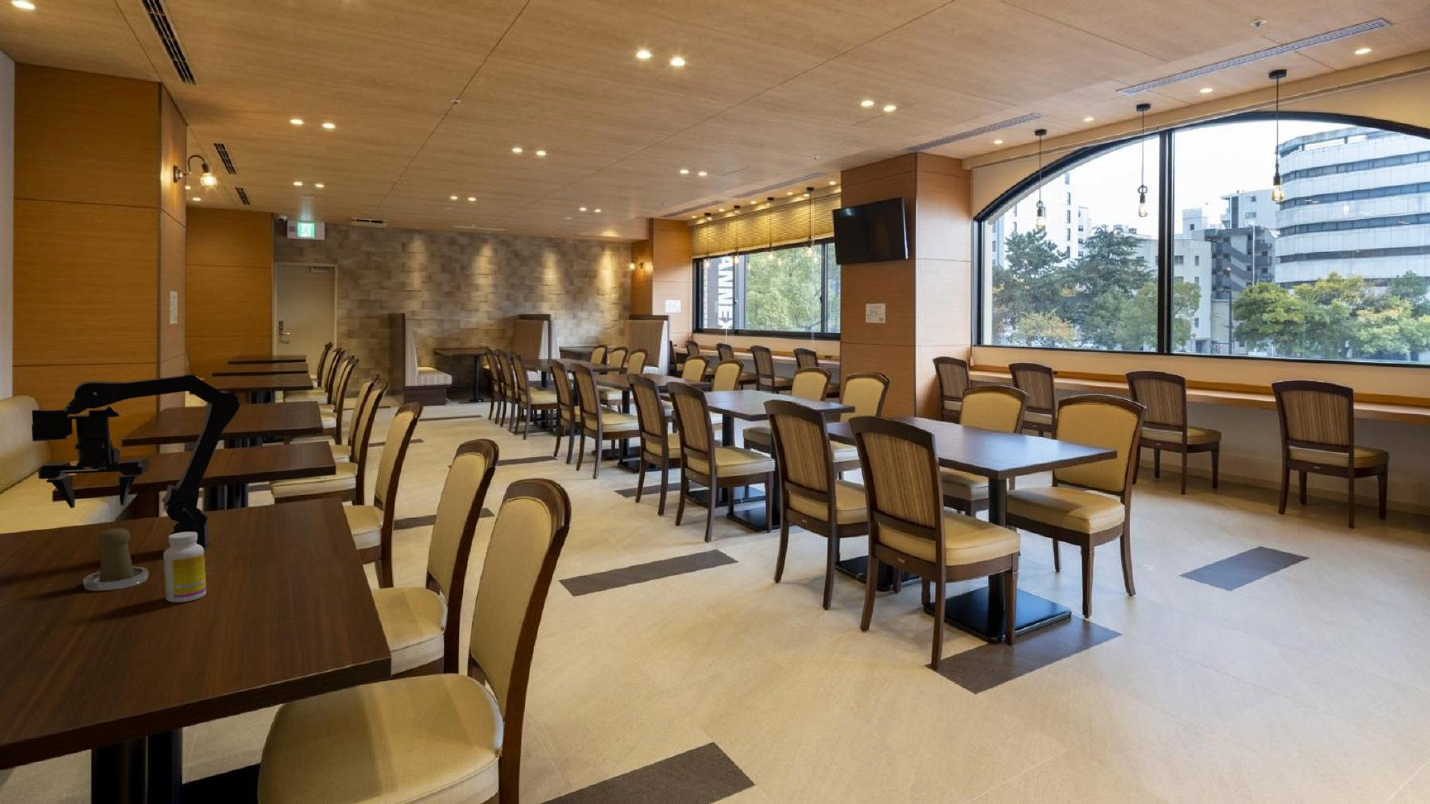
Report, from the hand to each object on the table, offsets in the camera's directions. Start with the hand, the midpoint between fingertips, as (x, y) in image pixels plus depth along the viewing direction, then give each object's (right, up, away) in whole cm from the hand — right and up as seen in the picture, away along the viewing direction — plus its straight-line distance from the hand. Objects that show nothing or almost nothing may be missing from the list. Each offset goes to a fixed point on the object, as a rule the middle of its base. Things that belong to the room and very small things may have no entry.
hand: (97, 506), depth 172 cm
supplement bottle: (+34, -16, -20) cm, 42 cm away
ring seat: (+13, -14, -12) cm, 23 cm away
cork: (+13, -14, -12) cm, 23 cm away
